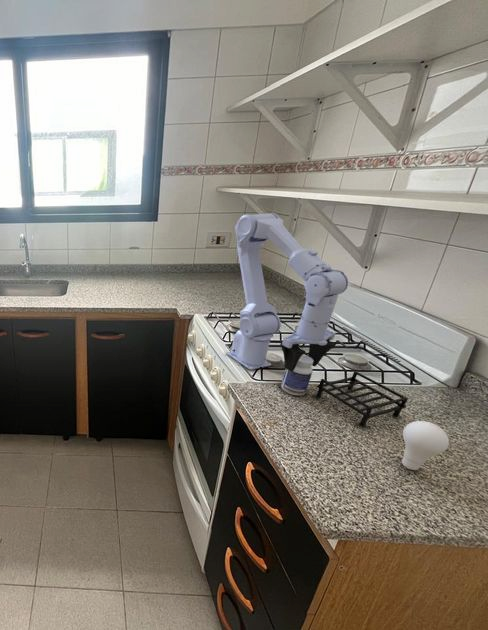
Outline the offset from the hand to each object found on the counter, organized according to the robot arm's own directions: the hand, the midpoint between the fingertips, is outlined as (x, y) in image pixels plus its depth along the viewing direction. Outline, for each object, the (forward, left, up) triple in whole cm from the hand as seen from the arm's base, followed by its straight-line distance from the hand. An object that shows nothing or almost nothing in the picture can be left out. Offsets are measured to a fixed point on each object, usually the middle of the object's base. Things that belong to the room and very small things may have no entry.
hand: (300, 366), depth 90 cm
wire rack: (+10, +9, -7) cm, 15 cm away
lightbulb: (+27, 0, -8) cm, 28 cm away
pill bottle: (0, 0, -8) cm, 8 cm away
